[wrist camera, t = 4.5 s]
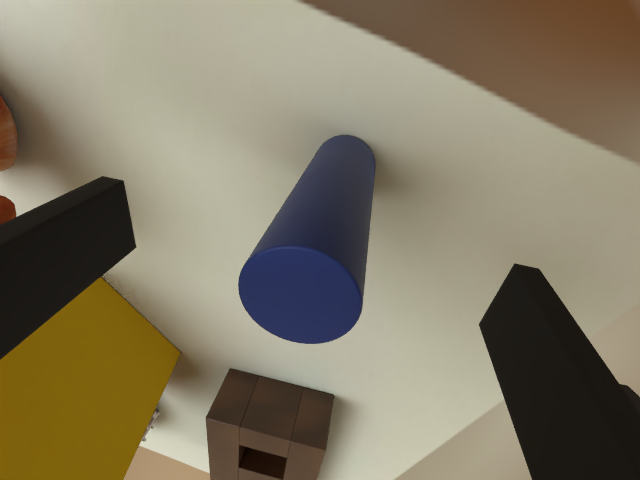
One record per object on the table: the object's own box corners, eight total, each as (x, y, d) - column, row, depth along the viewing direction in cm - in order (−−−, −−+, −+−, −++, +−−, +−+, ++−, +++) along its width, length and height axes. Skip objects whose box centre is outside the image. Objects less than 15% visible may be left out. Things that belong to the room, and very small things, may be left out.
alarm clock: (26, 282, 30) (-350, 532, 15) (72, 250, 27) (-351, 528, 11) (142, 381, 36) (-46, 641, 20) (192, 364, 32) (13, 659, 17)
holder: (334, 394, 31) (325, 450, 27) (309, 477, 40) (300, 528, 36) (229, 368, 32) (205, 418, 27) (229, 455, 41) (211, 503, 37)
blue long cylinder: (382, 141, 18) (376, 263, 8) (367, 199, 20) (348, 356, 10) (319, 129, 18) (237, 232, 8) (311, 187, 20) (236, 329, 10)
